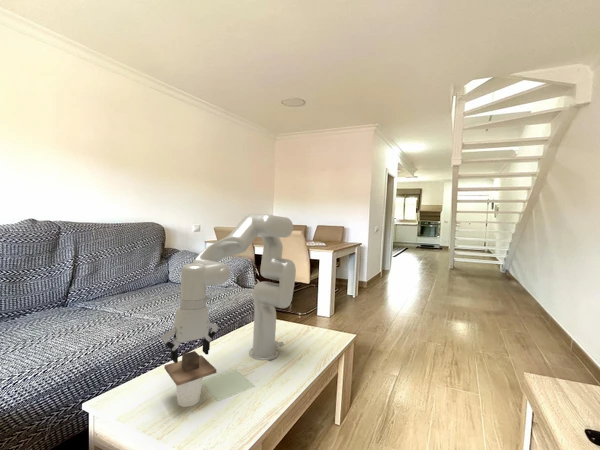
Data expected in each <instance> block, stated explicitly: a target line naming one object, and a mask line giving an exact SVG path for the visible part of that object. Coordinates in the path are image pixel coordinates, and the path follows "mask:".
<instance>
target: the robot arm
mask: <svg viewBox="0 0 600 450" xmlns="http://www.w3.org/2000/svg"><path fill="white" fill-rule="evenodd" d="M293 231H294V225H293V222H292V220H291V219H290V218H288V217H286V216H281V215H274V214H266V213H250V214H247V215H245V216H244V217H243V218H242V219H241V221H240V222H239V223H238V224H237V226H236V227H235V228H233V230H232V231H231V232H230V233H229V234H228V235H227V236H226V237H224V238H221V239H219V240H218V241H216V242H214V243H212V244H211V245H208V246H207V247H206V248H205V249H203V250H202V251H201V252H200V253H199V254H198V255H197V256H196V257H195V259H194V260H193V261H192V263H186V264H184V265H183V266H182V267H181V271H180V272H181V275H180V276H181V277H180V295H179V296H180V299H179V300H180V301H179V307H177V308H176V310H175V314H174V315H175V316H174V320H173V326H172V327H173V329H171V330H170V331H168V332H167V333H165V334H164V335H162V336H161V339H162V341H163V342H164V344H165V346H166V347H168V348H169V349H170V360H171V361H173V362H172V363H177V362H178V361H179V350H178V347H179V346H180V345H181V344H182V343H183V344H184V343H187V342H192V341H196V340H200V339H203V338H204V339H203V340H202V352H203V353H204V354H205V355H206V356H207V355H209V351H210V347H211V346H210V344H211V342H212V339H213V338H214V337H215V335H216V332H217V331H218V328H219V325H217V324H215V323H212V322H210V318H209V316H210V315H209V311H208V306H207V303H208V302H210V301H211V300H210V297H208V296H206V293H207V287H208V286H218V285H223V284H225V283H226V282H227V281H228V280H229V279H230V277H231V269H230V267H229V266H228V264H226V263H223V262H220V261H221V260H223V259H226V258H228V257H233V256H236V255H237V256H238V255H240V254H243V253H245V252H246V251H247V249H248V248H249V247H250V246H251V244H252V243H253V242H254V241H255V239H256V238H257V237H258V236H259V237H260V238H261V240H262V243H263V244H262V245H263V248H262V249H263V250H262V257H261V262H260V263H261V264H260V271H259V272H260V275H261V277H263V278H265V279H269V280H274V281H279V283H276V282H271V281H259V282H257V283H256V284H255V285H254V287H253V292H252V298H253V307H254V308H253V309H254V311H253V312H254V313H253V315H254V316H253V338H252V348H250V349H249V350H248V355H249V357H250V358H252V359H253V360H257V361H272V360H274V359H276V358H277V357H278V355H279V351H278V348H279V347H283V346H284V341H279V342H278V340H276V333H277V332H276V329H277V311H276V308H279V309H286V308H288V307H289V306H290V305H291V302H292V301H293V297H294V296H293V295H294V290H295V289H294V288H295V282H296V277H297V275H296V274H297V267H296V264H295V262H294V261H293V260H291V259H288V258H283V250H284V249H283V247H284V246H283V243H282V240H281V238H284V239H285V238H289V237H290V236H291V234H292V233H293ZM210 329H211V330H210ZM172 337H173V340H172V341H170V338H172Z"/></svg>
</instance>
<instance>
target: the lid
mask: <svg viewBox="0 0 600 450" xmlns="http://www.w3.org/2000/svg"><path fill="white" fill-rule="evenodd" d="M164 370H165V371H166V373H167V374H168V376H169V377H170V379H171V380H172V381H173V382H174V384H175V385H176V387H177V386H179V385H182V384H185V383H188V382H191V381H194V380H196V379H199V378H202V379H203V378H205V377H208V376H211V375H214V374H217V370H218V369H216V367H214V366H213V364H211V362H210V361H208V359H206V358H205V357H204V356H203V355H202V354H198V353H197V352H196V350H194V351H193V350H192V351H189V352H185V353H182V354H181V360H178V362H177V363H174V362H171V363H168V364H165V365H164Z"/></svg>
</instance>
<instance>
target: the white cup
mask: <svg viewBox="0 0 600 450" xmlns="http://www.w3.org/2000/svg"><path fill="white" fill-rule="evenodd" d="M202 380H203V377H202V378H199V379H196V380H194V381H191V382H188V383H185V384H182V385H179V386H177V385H176V403H177V405H178V406H179V407H183V408H184V407H186V408H188V407H193V406H195V405H197V404H198V402H200V400H201V392H202V385H203V383H202Z"/></svg>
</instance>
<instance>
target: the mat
mask: <svg viewBox="0 0 600 450" xmlns="http://www.w3.org/2000/svg"><path fill="white" fill-rule="evenodd" d="M202 385H203V386H204V387H205V388H206V390H207V391H208V392H210V394H211V395H212V396H213V397H214V399H215V400H216V402H219V401H222V400H224V399H227V398H229V397H232V396H235V395H237V394H239V393H242V392H244V391H247V390H249V389H252V388H254V387H255V388H256V385H255V384H254V383H253V382H252V381H251V380H249V379H248V378H247V377H246V376H245V375H243V374H242V373H241V372H240V371H239V370H238V369H236V368H235V369H231V370H229V371H225V372H223V373H220V374H217V375H214V376H212V377H207V378H206V379H205V378H204V379H202Z"/></svg>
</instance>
